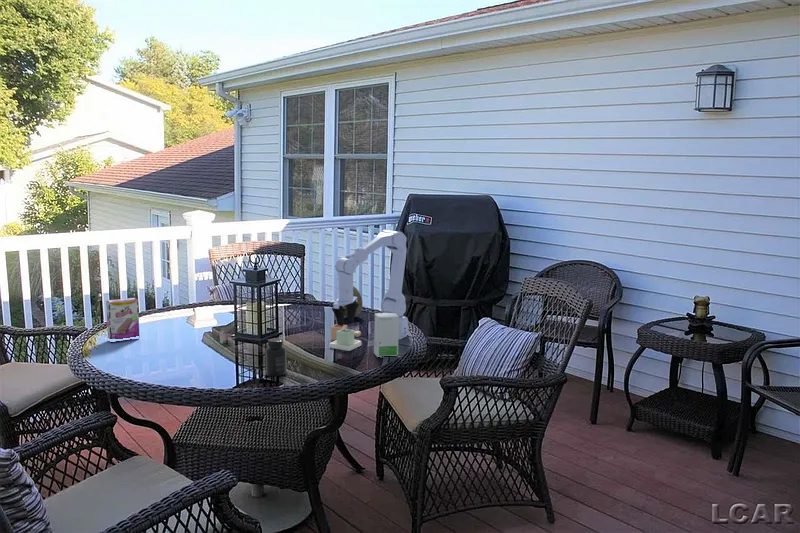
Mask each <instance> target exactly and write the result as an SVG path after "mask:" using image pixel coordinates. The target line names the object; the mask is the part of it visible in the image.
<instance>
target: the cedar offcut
mask: <svg viewBox="0 0 800 533" xmlns="http://www.w3.org/2000/svg"><path fill="white" fill-rule="evenodd" d="M360 336H362V331H360V330H354V338H358V337H360Z"/></svg>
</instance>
